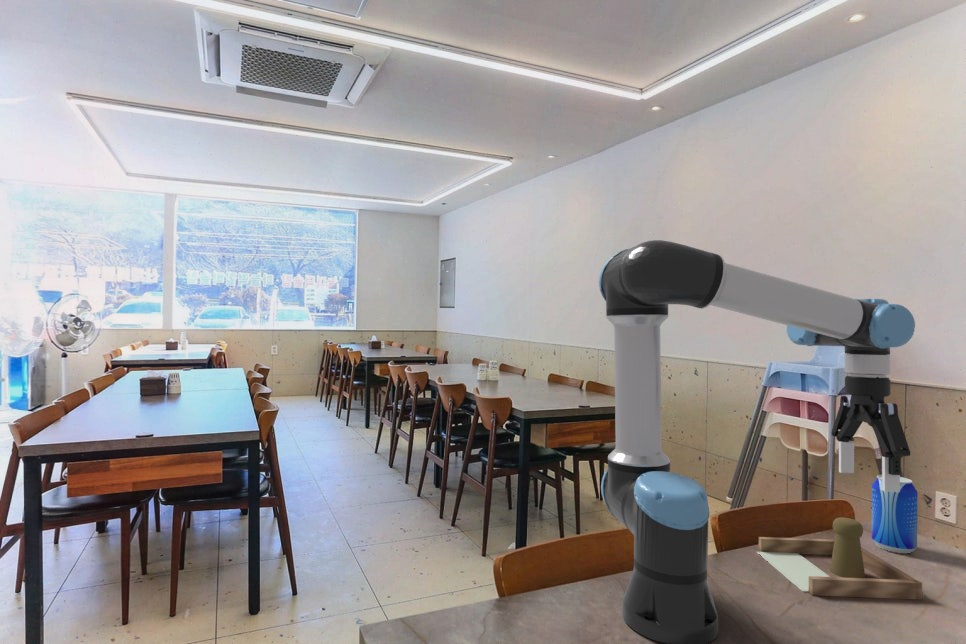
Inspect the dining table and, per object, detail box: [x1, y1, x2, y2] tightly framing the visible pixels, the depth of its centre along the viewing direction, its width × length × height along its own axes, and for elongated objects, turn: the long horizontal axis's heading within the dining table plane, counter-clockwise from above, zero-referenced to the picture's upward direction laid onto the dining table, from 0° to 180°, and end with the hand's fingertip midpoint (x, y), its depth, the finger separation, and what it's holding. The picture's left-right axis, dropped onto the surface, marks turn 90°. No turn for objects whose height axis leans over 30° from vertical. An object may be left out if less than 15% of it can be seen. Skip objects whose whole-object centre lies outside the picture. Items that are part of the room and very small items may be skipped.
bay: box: [758, 536, 923, 601], centre depth 111 cm, size 20×21×3 cm
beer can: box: [871, 474, 919, 554], centre depth 125 cm, size 8×8×16 cm
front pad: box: [756, 551, 831, 593], centre depth 111 cm, size 9×18×1 cm, turn 178°
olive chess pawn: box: [829, 517, 866, 578], centre depth 111 cm, size 6×6×11 cm
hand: (867, 481), depth 109 cm, fingers open, 13 cm apart
